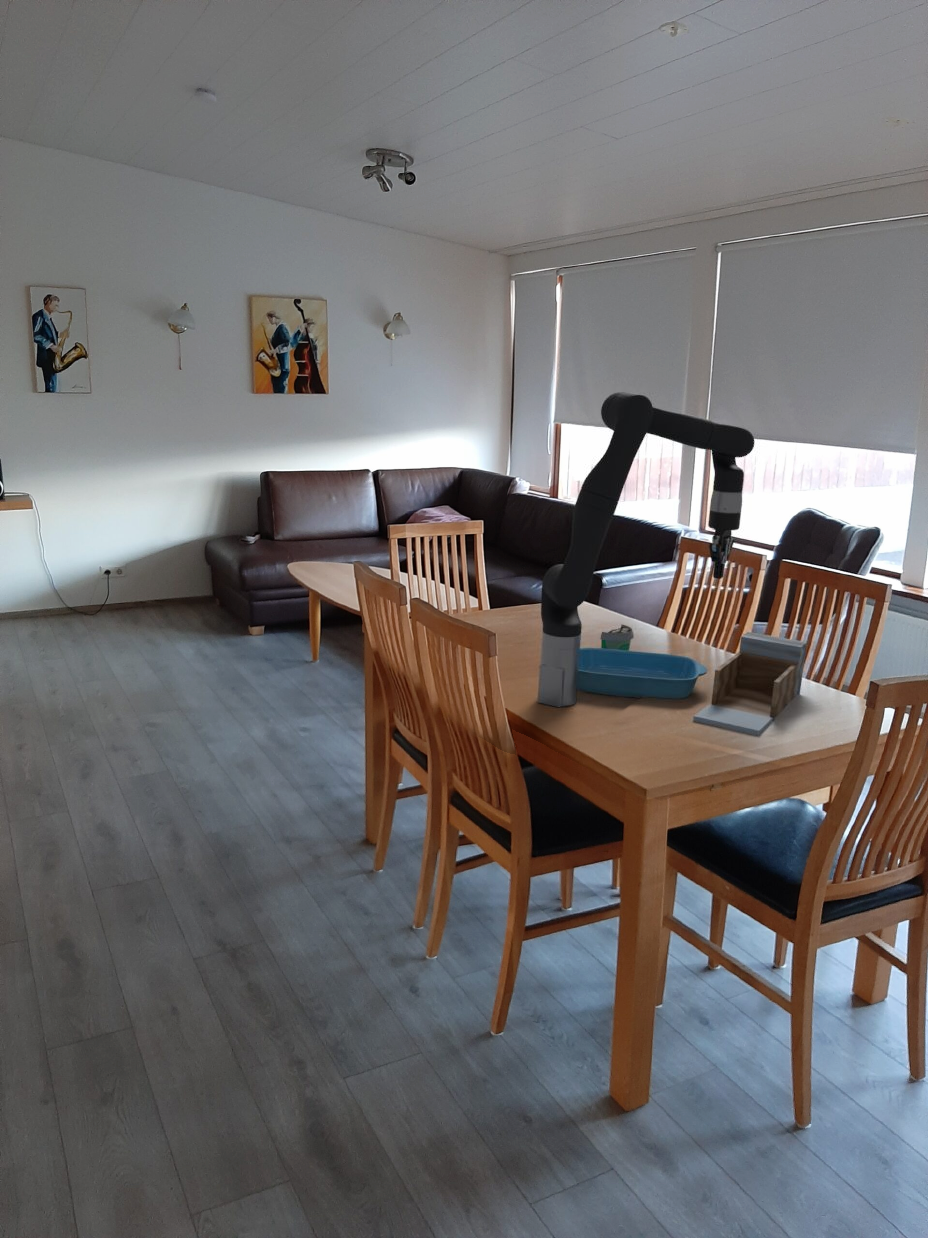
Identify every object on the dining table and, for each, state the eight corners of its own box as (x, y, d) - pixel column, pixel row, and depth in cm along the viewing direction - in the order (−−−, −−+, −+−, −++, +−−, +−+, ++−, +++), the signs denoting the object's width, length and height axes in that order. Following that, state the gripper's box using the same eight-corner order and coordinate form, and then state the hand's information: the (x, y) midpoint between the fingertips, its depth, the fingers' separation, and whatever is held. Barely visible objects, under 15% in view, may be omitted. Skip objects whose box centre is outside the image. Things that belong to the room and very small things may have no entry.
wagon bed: (773, 723, 221) (780, 665, 217) (710, 709, 228) (716, 653, 225) (799, 694, 242) (806, 642, 239) (741, 682, 250) (747, 631, 246)
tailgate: (774, 722, 220) (759, 736, 209) (709, 708, 228) (691, 720, 217) (775, 717, 220) (760, 731, 209) (709, 703, 228) (692, 715, 217)
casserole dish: (554, 693, 236) (556, 666, 234) (564, 668, 257) (565, 643, 255) (705, 709, 228) (708, 681, 227) (702, 682, 250) (705, 656, 248)
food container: (618, 672, 255) (621, 636, 252) (598, 667, 258) (600, 632, 256) (639, 662, 264) (642, 628, 262) (619, 657, 268) (622, 623, 265)
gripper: (732, 513, 226) (724, 584, 230) (748, 508, 236) (740, 576, 241) (702, 510, 229) (694, 579, 234) (718, 505, 240) (711, 571, 245)
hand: (718, 577), depth 237 cm, fingers closed
